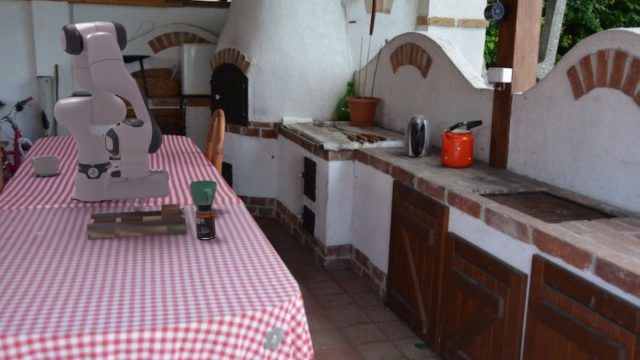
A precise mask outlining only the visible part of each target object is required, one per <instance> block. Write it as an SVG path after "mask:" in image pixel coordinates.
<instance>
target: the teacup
mask: <svg viewBox="0 0 640 360" xmlns="http://www.w3.org/2000/svg"><path fill="white" fill-rule="evenodd" d="M29 160H30V161H29V162H30V164H31V166H32V167H33V170H34V173H35V174H36V175H38V176H39V175H40V176H39V177H44V176H45V177H51V176H50V175H53V176H55V175H56V174H57V173H58V172H60V171H59V170H60V159H59V156H58V155H50V154H49V155H40V156H32V157H31V158H30V159H29Z"/></svg>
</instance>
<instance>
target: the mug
mask: <svg viewBox="0 0 640 360" xmlns="http://www.w3.org/2000/svg"><path fill="white" fill-rule="evenodd" d="M217 187H218V183H217V181H214V180H207V179H204V180H201V179H200V180H194V181H191V182H190V183H189V190H190V196H191V197H192V201H193V203H194V205H195V206H194V207H195V208H196V211H197V210H198V209H199V207H198V206H199V205H198V204H199V203H200V202H211V208H212V207H213V204H214V201H215V197H216V194H217V193H216V192H217Z"/></svg>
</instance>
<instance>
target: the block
mask: <svg viewBox="0 0 640 360" xmlns="http://www.w3.org/2000/svg"><path fill="white" fill-rule="evenodd" d="M180 209H181V203H164V204H163V203H162V204H161V207H160V210H161V215H162V220H176V219H181V215H180Z"/></svg>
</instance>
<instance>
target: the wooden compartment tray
mask: <svg viewBox="0 0 640 360" xmlns="http://www.w3.org/2000/svg"><path fill="white" fill-rule="evenodd" d="M180 215H181V219H176V220H162V215H161V209H160V210H157V209H156V210H142V212H133V211H120V212H119V211H117V212H100V213H99V212H97V213H96V212H95V213H90V221H89V223H87V224H86V231H87V232H86V233H87V239H88V240H92V239H93V240H95V239H107V238H108V239H109V238H110V239H111V238H126V237H127V238H129V237H143V236H144V237H145V236H160V235H178V233H179V234H180V233H181V234H187V222H186V221H187V219H186V214H185V207H180ZM181 234H180V235H181Z"/></svg>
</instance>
